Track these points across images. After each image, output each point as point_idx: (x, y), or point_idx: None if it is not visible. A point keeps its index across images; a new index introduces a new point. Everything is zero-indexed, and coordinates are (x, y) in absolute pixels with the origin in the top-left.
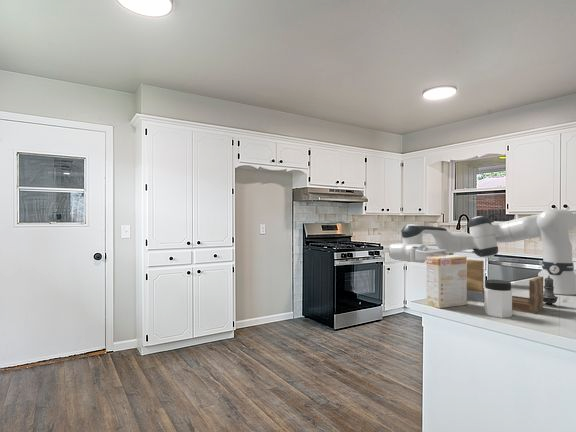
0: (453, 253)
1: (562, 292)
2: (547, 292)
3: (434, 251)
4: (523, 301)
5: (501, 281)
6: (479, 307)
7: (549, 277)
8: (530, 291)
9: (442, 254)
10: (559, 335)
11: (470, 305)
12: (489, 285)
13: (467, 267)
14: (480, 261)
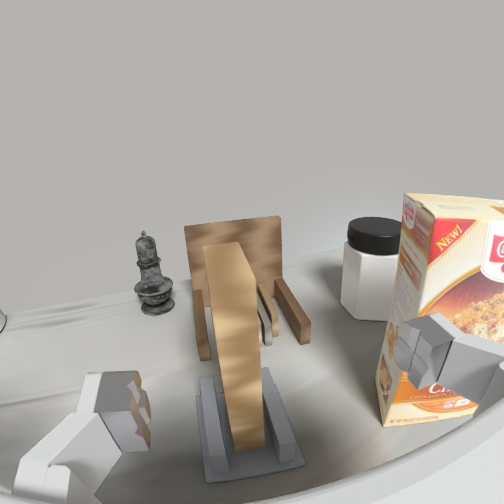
0: (96, 374)
1: (2, 316)
2: (160, 273)
3: (502, 408)
4: (264, 288)
5: (370, 223)
6: (358, 351)
7: (144, 235)
8: (280, 245)
9: (438, 313)
10: None
11: (367, 372)
12: None
13: (257, 324)
14: (239, 244)
